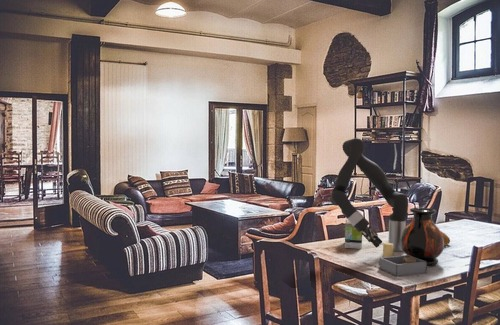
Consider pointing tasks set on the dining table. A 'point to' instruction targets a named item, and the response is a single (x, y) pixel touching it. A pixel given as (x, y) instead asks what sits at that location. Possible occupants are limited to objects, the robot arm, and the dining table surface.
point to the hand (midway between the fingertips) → (379, 244)
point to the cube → (409, 260)
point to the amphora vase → (422, 237)
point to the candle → (387, 250)
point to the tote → (402, 266)
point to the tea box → (352, 236)
